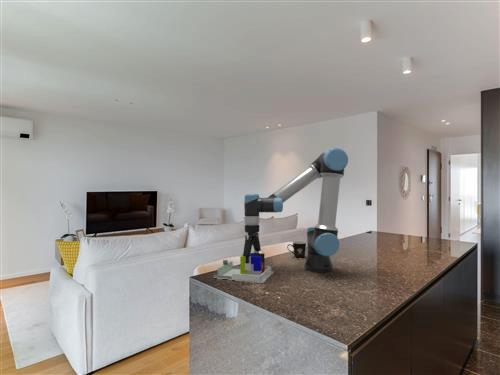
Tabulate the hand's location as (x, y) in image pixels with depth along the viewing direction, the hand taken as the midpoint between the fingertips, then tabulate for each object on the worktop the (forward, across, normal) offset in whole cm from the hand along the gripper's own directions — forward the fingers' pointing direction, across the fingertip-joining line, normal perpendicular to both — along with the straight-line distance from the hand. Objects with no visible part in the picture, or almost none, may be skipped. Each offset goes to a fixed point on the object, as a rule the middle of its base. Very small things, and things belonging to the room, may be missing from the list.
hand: (252, 266), depth 143 cm
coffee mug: (+5, -50, +14) cm, 52 cm away
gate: (+4, 0, -15) cm, 15 cm away
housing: (+5, 0, -4) cm, 6 cm away
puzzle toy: (+4, 0, 0) cm, 4 cm away
